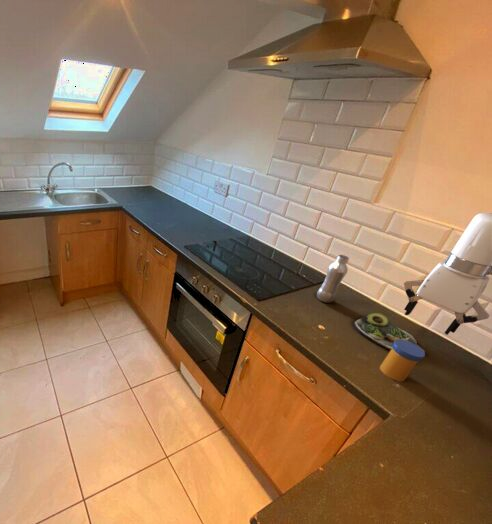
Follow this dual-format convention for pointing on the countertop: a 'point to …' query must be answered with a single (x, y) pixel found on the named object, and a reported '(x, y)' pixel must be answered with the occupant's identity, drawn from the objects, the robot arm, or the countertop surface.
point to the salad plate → (381, 330)
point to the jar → (397, 366)
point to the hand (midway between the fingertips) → (426, 322)
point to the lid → (408, 350)
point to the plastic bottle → (333, 279)
